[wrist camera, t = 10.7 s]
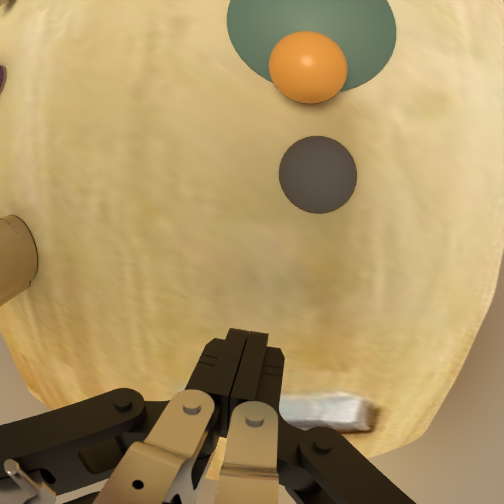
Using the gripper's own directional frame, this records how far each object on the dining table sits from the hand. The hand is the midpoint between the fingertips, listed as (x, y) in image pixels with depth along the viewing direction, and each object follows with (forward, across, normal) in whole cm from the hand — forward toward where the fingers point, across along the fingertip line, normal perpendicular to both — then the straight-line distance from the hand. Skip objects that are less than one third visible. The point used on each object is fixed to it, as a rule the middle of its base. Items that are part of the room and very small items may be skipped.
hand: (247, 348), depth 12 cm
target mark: (+15, -1, -19) cm, 24 cm away
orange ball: (+12, -1, -14) cm, 18 cm away
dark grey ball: (+12, -2, -6) cm, 14 cm away
